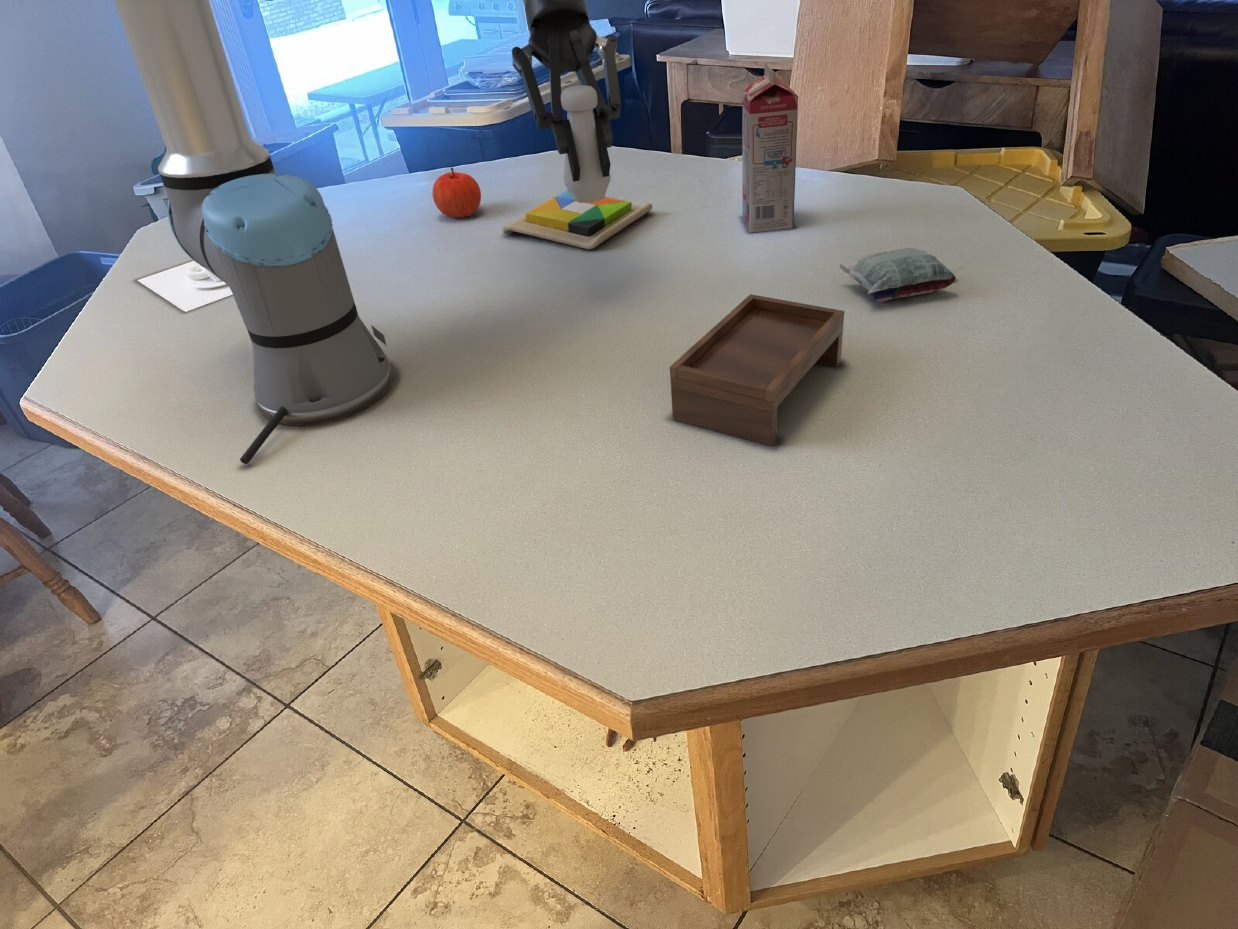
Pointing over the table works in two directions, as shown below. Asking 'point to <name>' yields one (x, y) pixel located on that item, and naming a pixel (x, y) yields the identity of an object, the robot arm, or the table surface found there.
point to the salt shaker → (584, 145)
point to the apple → (456, 194)
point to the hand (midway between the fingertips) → (591, 172)
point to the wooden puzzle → (577, 220)
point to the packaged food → (900, 274)
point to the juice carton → (768, 154)
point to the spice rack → (753, 365)
